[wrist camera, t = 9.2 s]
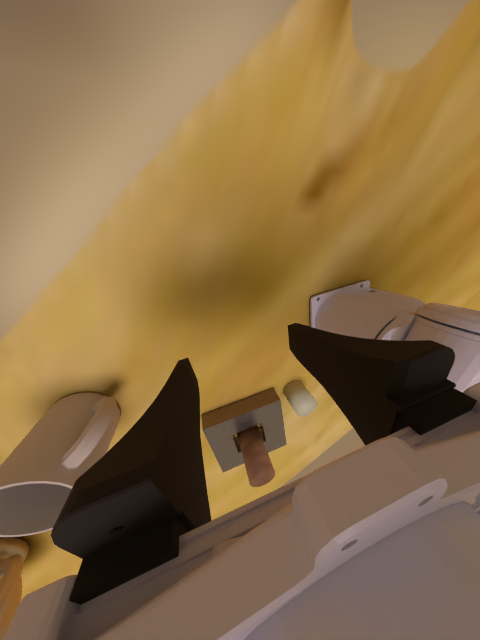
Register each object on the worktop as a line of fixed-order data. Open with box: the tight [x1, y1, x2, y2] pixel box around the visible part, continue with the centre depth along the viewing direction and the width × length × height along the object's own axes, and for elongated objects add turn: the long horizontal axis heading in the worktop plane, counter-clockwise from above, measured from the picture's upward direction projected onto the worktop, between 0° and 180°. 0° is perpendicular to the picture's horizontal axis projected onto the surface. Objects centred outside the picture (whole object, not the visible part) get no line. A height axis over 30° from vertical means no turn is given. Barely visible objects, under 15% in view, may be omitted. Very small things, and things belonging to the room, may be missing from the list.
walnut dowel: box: [237, 425, 275, 487], centre depth 27 cm, size 4×4×8 cm
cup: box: [0, 392, 120, 537], centre depth 17 cm, size 7×10×9 cm
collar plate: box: [202, 388, 286, 472], centre depth 29 cm, size 12×12×2 cm
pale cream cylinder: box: [283, 380, 317, 416], centre depth 28 cm, size 4×4×4 cm
